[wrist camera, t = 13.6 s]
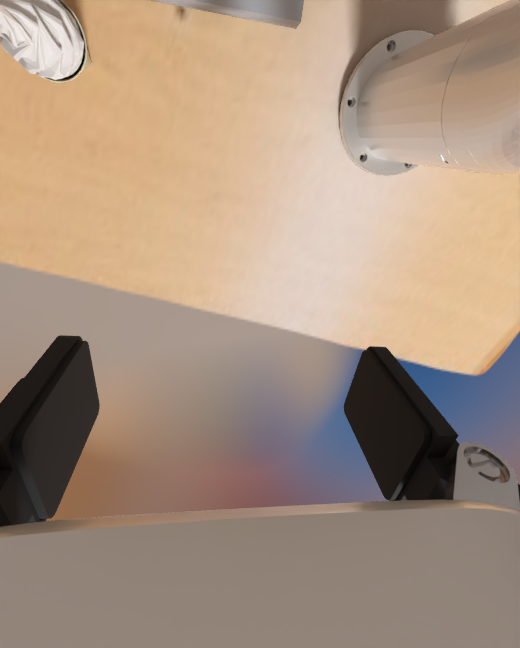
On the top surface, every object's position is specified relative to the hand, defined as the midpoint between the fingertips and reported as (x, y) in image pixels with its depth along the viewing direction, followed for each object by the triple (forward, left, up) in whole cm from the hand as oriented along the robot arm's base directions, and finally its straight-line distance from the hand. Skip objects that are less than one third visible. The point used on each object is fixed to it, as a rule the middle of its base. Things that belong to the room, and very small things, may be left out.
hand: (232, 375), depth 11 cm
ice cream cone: (+13, -12, -31) cm, 35 cm away
